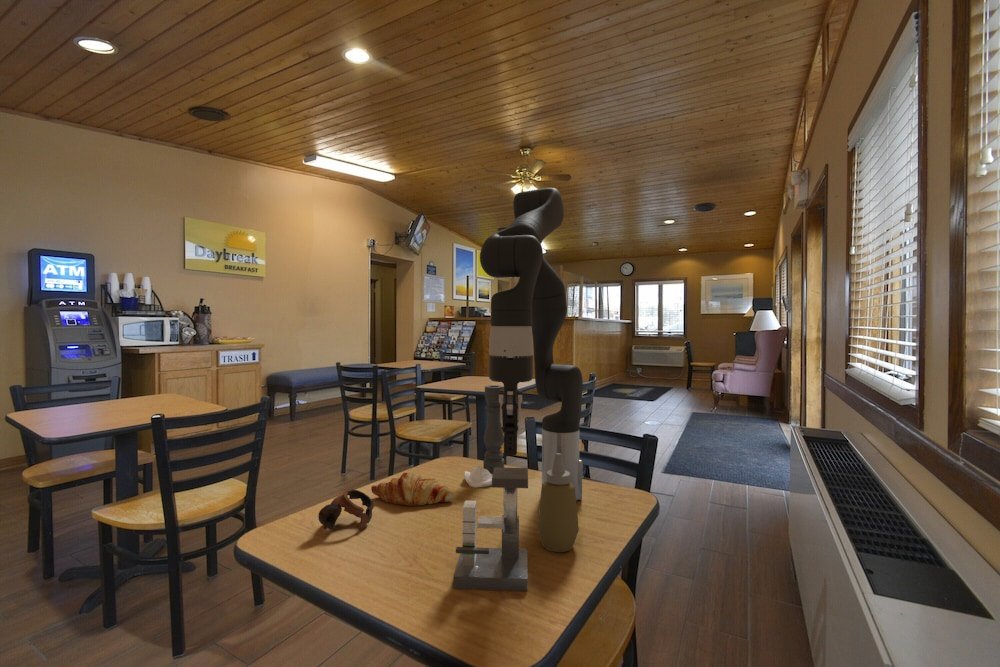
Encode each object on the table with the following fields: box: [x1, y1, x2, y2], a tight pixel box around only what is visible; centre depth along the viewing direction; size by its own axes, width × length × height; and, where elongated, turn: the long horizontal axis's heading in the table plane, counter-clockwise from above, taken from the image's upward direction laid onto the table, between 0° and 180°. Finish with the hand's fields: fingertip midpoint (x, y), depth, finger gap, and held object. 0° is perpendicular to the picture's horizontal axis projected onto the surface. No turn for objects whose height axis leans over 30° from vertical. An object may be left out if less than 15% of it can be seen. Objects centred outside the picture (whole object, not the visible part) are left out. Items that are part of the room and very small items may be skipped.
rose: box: [464, 465, 493, 489], centre depth 126 cm, size 10×4×10 cm
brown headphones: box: [317, 488, 375, 531], centre depth 97 cm, size 12×10×8 cm
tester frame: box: [453, 500, 529, 592], centre depth 79 cm, size 12×10×12 cm
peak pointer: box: [455, 546, 490, 554], centre depth 77 cm, size 6×1×1 cm, turn 87°
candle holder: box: [482, 384, 505, 474], centre depth 136 cm, size 6×6×25 cm
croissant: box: [370, 472, 456, 507], centre depth 113 cm, size 21×10×8 cm, turn 84°
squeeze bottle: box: [537, 453, 580, 553], centre depth 90 cm, size 8×8×18 cm
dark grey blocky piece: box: [476, 467, 529, 534], centre depth 79 cm, size 8×6×10 cm
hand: (510, 453), depth 79 cm, fingers closed
